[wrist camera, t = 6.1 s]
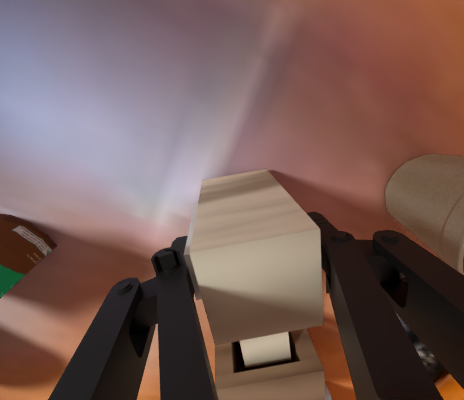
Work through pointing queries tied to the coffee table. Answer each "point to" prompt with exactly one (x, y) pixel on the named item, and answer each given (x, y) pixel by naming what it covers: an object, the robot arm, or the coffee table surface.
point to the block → (271, 374)
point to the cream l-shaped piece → (256, 264)
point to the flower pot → (431, 204)
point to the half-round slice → (20, 250)
